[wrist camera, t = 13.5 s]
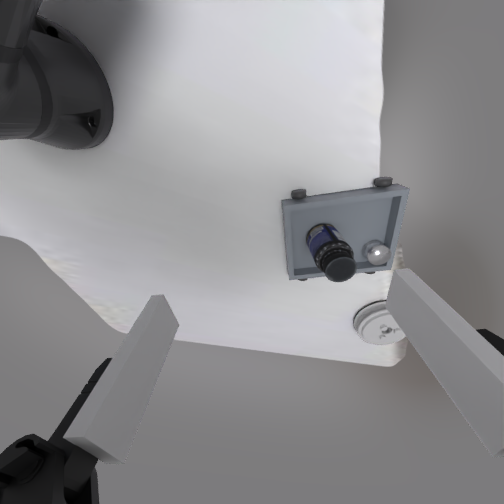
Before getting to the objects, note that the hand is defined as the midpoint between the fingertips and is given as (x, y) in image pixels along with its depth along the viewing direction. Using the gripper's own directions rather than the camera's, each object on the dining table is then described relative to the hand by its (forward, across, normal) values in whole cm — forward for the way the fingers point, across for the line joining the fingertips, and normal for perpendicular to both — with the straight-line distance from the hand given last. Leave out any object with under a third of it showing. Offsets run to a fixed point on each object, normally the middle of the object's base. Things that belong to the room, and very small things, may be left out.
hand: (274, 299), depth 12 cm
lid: (+28, +25, -37) cm, 53 cm away
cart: (+28, +13, -11) cm, 33 cm away
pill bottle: (+27, +10, -11) cm, 31 cm away
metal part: (+27, +20, -15) cm, 37 cm away
